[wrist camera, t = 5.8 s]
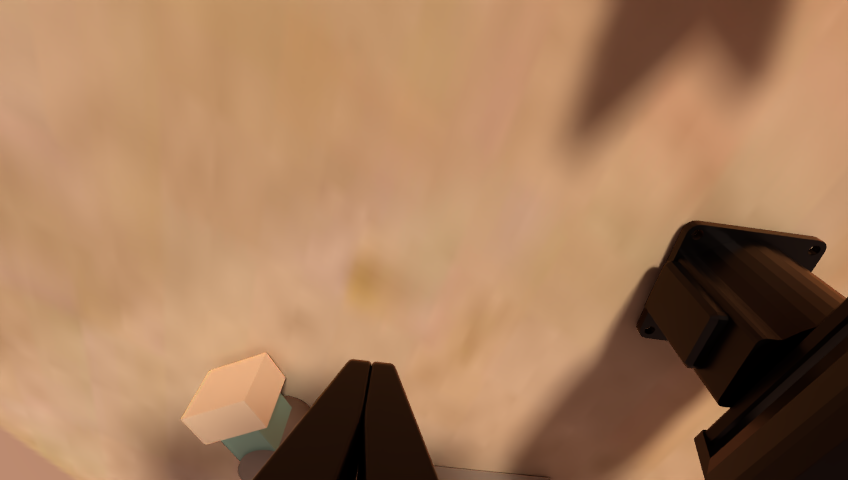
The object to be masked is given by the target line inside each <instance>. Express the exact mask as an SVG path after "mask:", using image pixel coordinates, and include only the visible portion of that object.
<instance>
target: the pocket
mask: <svg viewBox="0 0 848 480" xmlns="http://www.w3.org/2000/svg"><path fill="white" fill-rule="evenodd" d="M434 468H435V471H436V473H437V476H438V478H439V480H550V478H547V477H537V476H527V475H517V474H507V473H498V472H488V471H478V470H468V469H458V468H448V467H438V466H434Z"/></svg>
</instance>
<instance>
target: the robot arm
mask: <svg viewBox="0 0 848 480" xmlns="http://www.w3.org/2000/svg"><path fill="white" fill-rule="evenodd" d="M696 230H698V232H697V233H696V234H695V235H692V233H693V232H694V231H696ZM811 247H813V248H812V249H810V248H811ZM809 249H810V250H809ZM825 250H826V244H825V243H824V242H823V241H822V240H820V239H818V238H816V237H813V236H806V235H798V234H791V233H784V232H777V231H769V230H762V229H755V228H748V227H740V226H733V225H726V224H718V223H711V222H704V221H691V222H689V223H687V224H686V225H685V226H684V227H683V229H682V230H681V232H680V235H679V237H678V239H677V241H676V243H675V245H674V247H673V249H672V251H671V254H670V256H669V258H668V260H667V262H666V264H665V265H664V266H663V268H662V270H661V272H660V274H659V276H658V278H657V281H656V283H655V285H654V287H653V289H652V291H651V293H650V295H649V297H648V299H647V302H646V304H645V308H644V310H643V312H642V314H641V317H640V319H639V321H638V323H637V326H636V328H637V330H638V332H639V333H640V335H641V336H642V337H645V338H651V339H659V340H667V341H669V343H670V344H671V346H672V347H673V348H674V350H675V351H676V353H677V354H678V356H679V357H680V359H681V360H682V362H683V363H684V365H685V366H686V367H687V368H693V369H694V371H695V372H696V373H697V375H698V376H699V378H700V379H701V381H702V382H703V383H704V385H705V386H706V388H707V389H708V390H709V392H710V393H711V395H712V396H713V398H714V399H715V400H716V402H717V403H718V405H719V406H722V407H730V409H729V410H728V411H727V412H726V413H724V414H723V415H722V416H721V417H720V418H719V419H718V420H717V421H716V422H715V423H714V424H713V425H712V426H711V427H710V428H709V429H707V430H702V431H701V432H700V433H699V434H698V435H697V436H696V437H695V438H694V441H695V445H696V449H697V452H698V456H699V460H700V463H701V467H702V471H703V474H704V478H705V480H848V297H847V298H845V297H844V296H843V295H841V294H840V293H839V292H837V291H836V290H834V289H833V288H832V287H830V286H829V285H828V284H826V283H825V282H824V281H822V280H821V279H819V278H818V277H817V276H815V275H814V274H813V273H811V272H812V270H813V269H814V267H815V266H816V264H817V263H818V261H819V260H820V258H821V257H822V255H823V254H824V252H825ZM649 326H651V327H650V328H648V329H646V328H647V327H649ZM357 472H358V474H357ZM356 477H357V480H439V478H438V476H437V473H436V471H435V468H434V466H433V463H432V460H431V458H430V455H429V453H428V450H427V448H426V445H425V442H424V440H423V437H422V435H421V432H420V430H419V427H418V424H417V422H416V419H415V417H414V414H413V412H412V409H411V406H410V404H409V401H408V399H407V396H406V393H405V391H404V388H403V386H402V383H401V381H400V378H399V375H398V373H397V370H396V368H395V366H394V365H393V364H391V363H383V362H374V363H373V364H372V366H371V362H369V361H364V360H355V359H351V360H349V361H348V362H347V363H346V365H345V366H344V367H343V368H342V369H341V371H340V372H339V373H338V374H337V376H336V377H335V378H334V379H333V381H332V382H331V383H330V384H329V385H328V387H327V388H326V389H325V390H324V392H323V393H322V394H321V395H320V397H319V398H318V399H317V400H316V402H315V403H314V404H313V405H312V406H311V408H310V409H309V410H308V411H307V413H306V414H305V415H304V416H303V418H302V419H301V420H300V421H299V422H298V424H297V425H296V426H295V427H294V429H293V430H292V431H291V432H290V434H289V435H288V436H287V437H286V438H285V440H284V441H283V442H282V443H281V445H280V446H279V447H278V448H277V450H276V451H275V452H274V453H273V454H272V456H271V457H270V458H269V459H268V461H267V462H266V463H265V464H264V466H263V467H262V468H261V469H260V471H259V472H258V473H257V474H256V475H255V477H254V478H253V479H252V480H356Z"/></svg>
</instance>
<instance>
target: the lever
mask: <svg viewBox="0 0 848 480" xmlns="http://www.w3.org/2000/svg"><path fill="white" fill-rule="evenodd" d="M284 381H285V376H284V375H283V374H282V372H281V371H280V370H279V368H278V367H277V366H276V364H275V363H274V362H273V361H272V359H271V358H270V357H269V355H268V354H267V353H266V352H265V353H262V354H259V355H256V356H253V357H250V358H247V359H243V360H240V361H237V362H234V363H231V364H228V365H225V366H222V367H218V368H215V369H212V370H209V372H208V373H207V375H206V377H205V379H204V380H203V382H202V384H201V385H200V387H199V389H198V390H197V392H196V394H195V396H194V397H193V399H192V401H191V402H190V404H189V406H188V407H187V409H186V411H185V413H184V414H183V416H182V418H181V419H180V420H181V421H182V422H183V423H184V424H185V425H186V426H187V427H188V428H189V429H190V430H191V431H192V432H193V433H194V434H195V435H196V436H197V437H198V438H199V439H200V440H201V441H202V443H203V444H204V445H207V444H211V443H214V442H218V441H221V442H222V443H223V444H224V445H225V446H226V447H227V448H228V449H229V450H230V451H231V452H232V453H233V454H234V455H235V456H236V458H237V459H238V460H239V461H240V464H239V466H238V474H239V476H240V477H241V479H242V480H252V479H253V478H254V477H255V475H256V474H257V473H258V472H259V471H260V469H261V468H262V467H263V466H264V464H265V463H266V462H267V461H268V459H269V458H270V457H271V456H272V454H273V453H274V452H275V451H276V450H277V448H278V447H279V446H280V445H281V443H282V442H283V441H284V440H285V438H286V437H287V436H288V435H289V434H290V432H291V431H292V430H293V429H294V427H295V426H296V425H297V424H298V422H299V421H300V420H301V419H302V418H303V416H304V415H305V414H306V413H307V411H308V410H309V409H310V407H309V406H308V405H307V404H306V403H305V402H303V401H302V400H300V399H297V398H294V397H290V396H282V394H281V393H280V392H281V389H282V386H283V384H284Z"/></svg>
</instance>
